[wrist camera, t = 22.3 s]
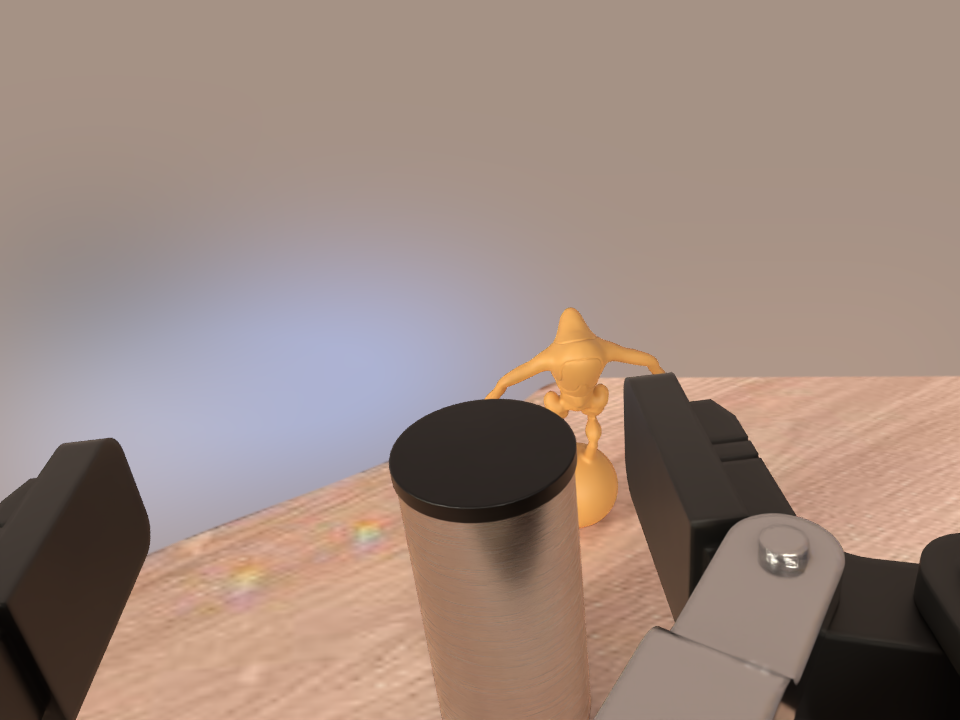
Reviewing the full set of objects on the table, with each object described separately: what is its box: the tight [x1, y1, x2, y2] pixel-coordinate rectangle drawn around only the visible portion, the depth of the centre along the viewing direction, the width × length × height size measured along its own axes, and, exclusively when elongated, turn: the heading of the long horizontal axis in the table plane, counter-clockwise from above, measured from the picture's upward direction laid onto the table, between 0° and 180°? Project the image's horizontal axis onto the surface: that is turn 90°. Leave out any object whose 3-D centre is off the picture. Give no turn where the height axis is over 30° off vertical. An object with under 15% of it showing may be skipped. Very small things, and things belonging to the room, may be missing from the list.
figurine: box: [485, 308, 665, 528], centre depth 36 cm, size 8×6×12 cm
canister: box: [389, 399, 591, 720], centre depth 28 cm, size 6×6×12 cm
